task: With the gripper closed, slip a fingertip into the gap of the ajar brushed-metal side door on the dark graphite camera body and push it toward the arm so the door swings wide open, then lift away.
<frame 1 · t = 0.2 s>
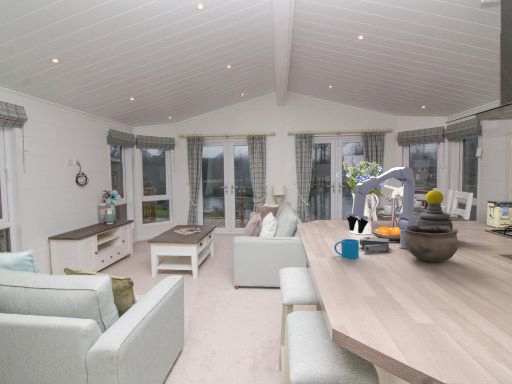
hand: (355, 231, 165), 10 cm above the kitchen island, tool pointing down, fingers open, 7 cm apart
mug: (346, 257, 157), on the kitchen island
ceramic bowl: (430, 260, 146), on the kitchen island
decorative lamp: (434, 240, 187), on the kitchen island
camera body: (375, 248, 171), on the kitchen island
side door: (376, 248, 163), point 2 cm above the kitchen island, hinge at 35.0°
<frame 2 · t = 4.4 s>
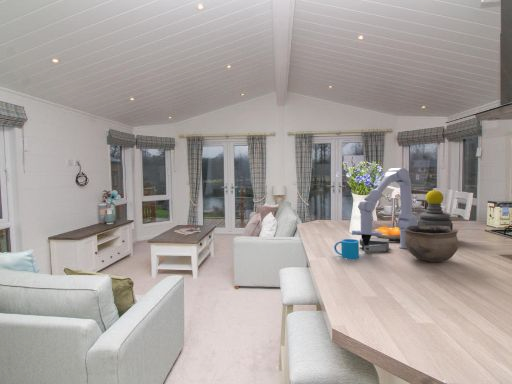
hand: (366, 249, 165), 1 cm above the kitchen island, tool pointing down, fingers closed, pressing on side door
side door: (376, 248, 163), point 2 cm above the kitchen island, hinge at 35.2°, touching gripper
everything else where it was.
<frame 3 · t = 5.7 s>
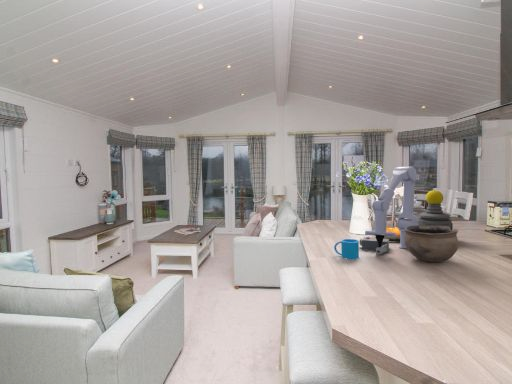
hand: (380, 249, 161), 2 cm above the kitchen island, tool pointing down, fingers closed, pressing on side door
side door: (382, 249, 160), point 2 cm above the kitchen island, hinge at 71.5°, touching gripper
everything else where it was.
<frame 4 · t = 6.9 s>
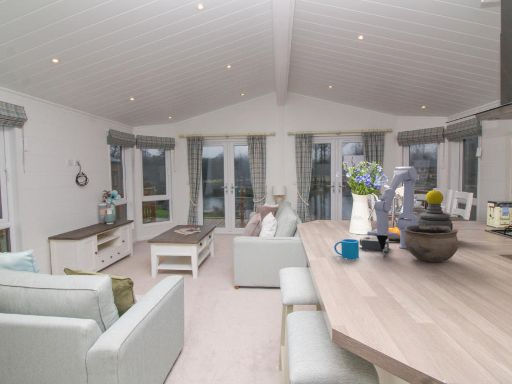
hand: (382, 250, 161), 2 cm above the kitchen island, tool pointing down, fingers closed
side door: (385, 250, 159), point 2 cm above the kitchen island, hinge at 86.7°, touching gripper
everything else where it was.
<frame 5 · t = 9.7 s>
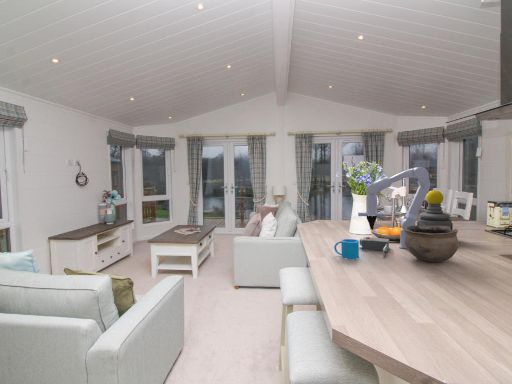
hand: (371, 229, 177), 9 cm above the kitchen island, tool pointing down, fingers closed
side door: (385, 250, 159), point 2 cm above the kitchen island, hinge at 86.8°
everything else where it was.
at the end: side door at +87° (first picture: +35°); side door touching nothing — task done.
